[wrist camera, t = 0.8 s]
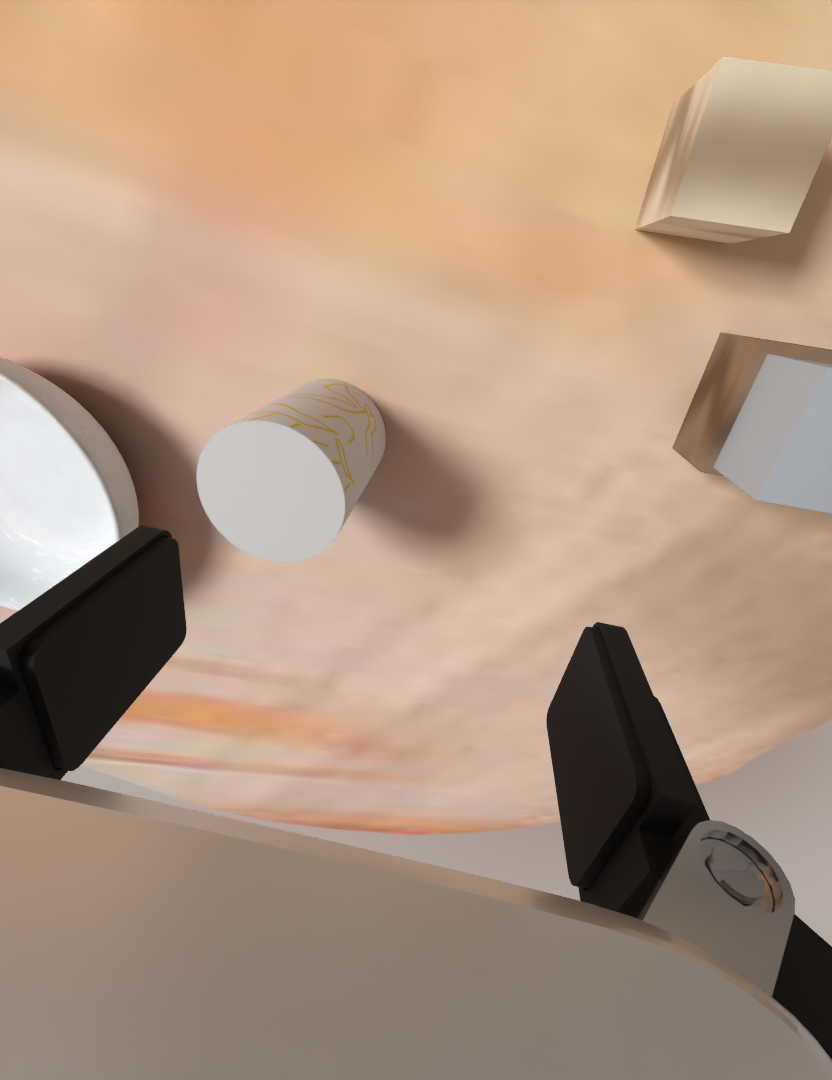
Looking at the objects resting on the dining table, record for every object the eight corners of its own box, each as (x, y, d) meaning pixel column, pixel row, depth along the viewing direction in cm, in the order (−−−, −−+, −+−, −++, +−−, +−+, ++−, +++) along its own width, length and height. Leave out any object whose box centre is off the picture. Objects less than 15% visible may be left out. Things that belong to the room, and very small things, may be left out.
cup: (407, 424, 34) (374, 484, 24) (350, 504, 38) (300, 587, 27) (313, 354, 33) (233, 386, 22) (263, 444, 36) (174, 507, 26)
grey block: (767, 353, 25) (827, 367, 21) (891, 374, 25) (978, 392, 21) (713, 467, 28) (755, 500, 24) (822, 486, 28) (885, 523, 24)
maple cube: (672, 105, 25) (723, 56, 19) (778, 120, 24) (859, 74, 19) (634, 229, 27) (670, 215, 22) (729, 243, 27) (789, 232, 22)
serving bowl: (16, 272, 33) (-89, 268, 27) (222, 507, 40) (176, 546, 34) (-111, 427, 40) (-216, 452, 34) (81, 603, 47) (23, 650, 41)
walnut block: (719, 332, 29) (761, 340, 25) (842, 351, 29) (906, 362, 25) (671, 447, 33) (700, 471, 29) (780, 465, 33) (826, 493, 28)
